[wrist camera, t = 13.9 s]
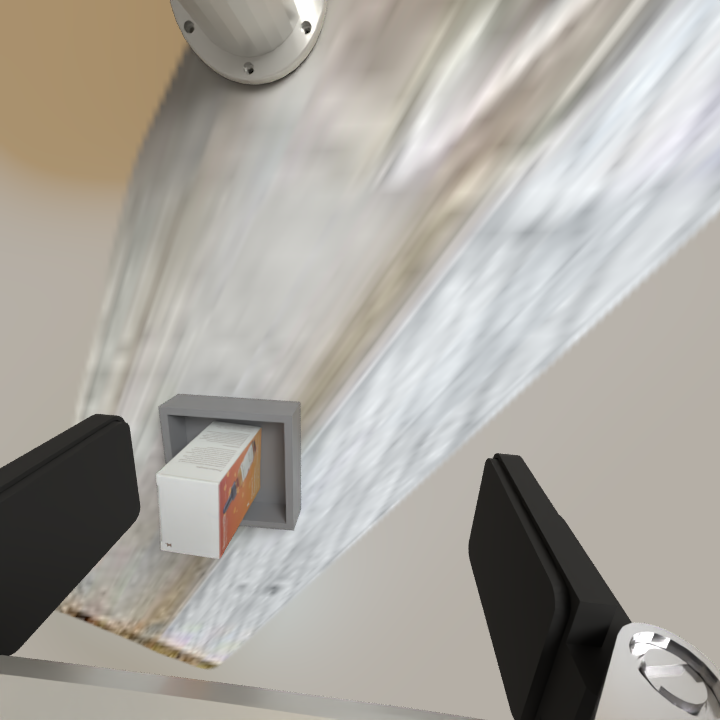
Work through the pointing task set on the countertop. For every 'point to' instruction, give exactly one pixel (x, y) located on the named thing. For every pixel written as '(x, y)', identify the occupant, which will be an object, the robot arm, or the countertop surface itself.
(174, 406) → the tray
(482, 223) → the countertop surface
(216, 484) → the small box
